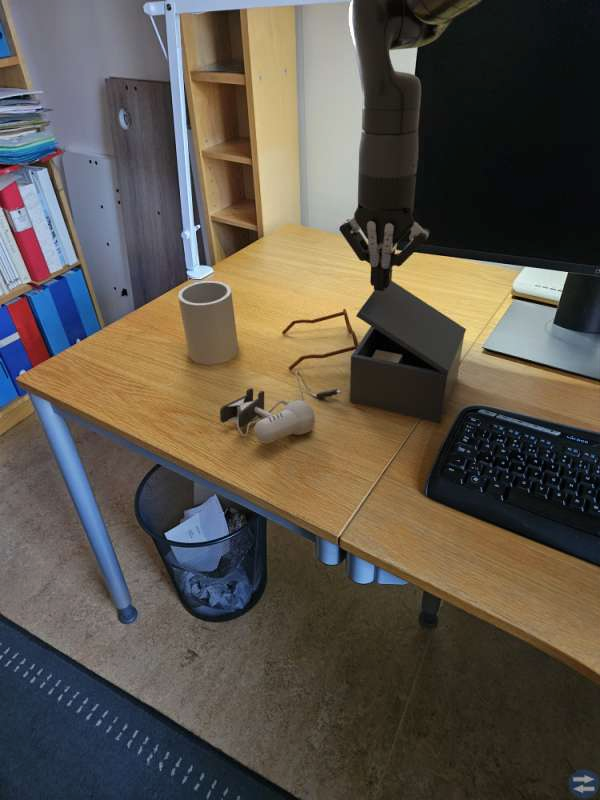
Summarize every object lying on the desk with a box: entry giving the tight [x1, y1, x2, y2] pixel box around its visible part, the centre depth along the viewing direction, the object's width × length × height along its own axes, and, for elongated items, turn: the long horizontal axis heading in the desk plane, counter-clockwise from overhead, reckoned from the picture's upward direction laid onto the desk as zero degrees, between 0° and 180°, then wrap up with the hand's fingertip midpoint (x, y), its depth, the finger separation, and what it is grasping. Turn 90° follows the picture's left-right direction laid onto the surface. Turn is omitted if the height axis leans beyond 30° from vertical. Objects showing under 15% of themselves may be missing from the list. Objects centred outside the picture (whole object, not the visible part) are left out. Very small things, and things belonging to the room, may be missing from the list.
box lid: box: [355, 280, 467, 375], centre depth 84 cm, size 15×13×1 cm
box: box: [349, 326, 465, 424], centre depth 89 cm, size 15×13×9 cm
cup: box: [177, 280, 239, 366], centre depth 100 cm, size 9×9×12 cm
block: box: [372, 350, 403, 364], centre depth 91 cm, size 4×4×4 cm
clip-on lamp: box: [219, 370, 343, 444], centre depth 85 cm, size 12×6×18 cm
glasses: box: [281, 308, 359, 371], centre depth 102 cm, size 13×13×5 cm
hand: (380, 288), depth 83 cm, fingers closed
